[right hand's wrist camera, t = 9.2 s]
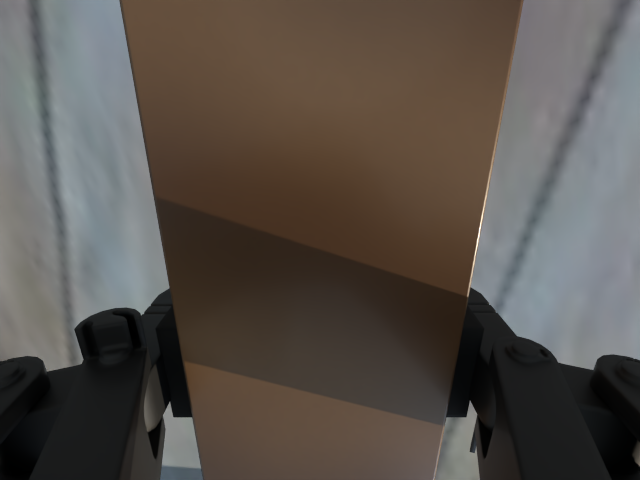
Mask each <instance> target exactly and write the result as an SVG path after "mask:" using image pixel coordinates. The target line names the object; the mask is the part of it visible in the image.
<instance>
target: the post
mask: <svg viewBox="0 0 640 480" xmlns="http://www.w3.org/2000/svg"><path fill="white" fill-rule="evenodd" d="M522 5H523V0H120V6H121V12H122V17H123V23H124V29H125V35H126V40H127V46H128V52H129V57H130V63H131V69H132V75H133V80H134V86H135V92H136V98H137V103H138V109H139V115H140V120H141V126H142V132H143V138H144V143H145V149H146V155H147V160H148V166H149V172H150V178H151V183H152V189H153V195H154V201H155V206H156V212H157V218H158V223H159V229H160V235H161V241H162V246H163V252H164V258H165V264H166V269H167V275H168V281H169V286H170V292H171V298H172V304H173V309H174V315H175V321H176V326H177V332H178V338H179V344H180V349H181V355H182V361H183V367H184V372H185V378H186V384H187V389H188V395H189V401H190V407H191V412H192V418H193V424H194V429H195V435H196V441H197V447H198V452H199V458H200V464H201V470H202V475H203V480H435V475H436V470H437V464H438V459H439V454H440V448H441V443H442V437H443V432H444V427H445V421H446V416H447V410H448V405H449V400H450V394H451V389H452V383H453V378H454V373H455V367H456V362H457V356H458V351H459V346H460V340H461V335H462V329H463V324H464V319H465V313H466V308H467V302H468V297H469V292H470V286H471V281H472V275H473V270H474V265H475V259H476V254H477V248H478V243H479V238H480V232H481V227H482V221H483V216H484V211H485V205H486V200H487V194H488V189H489V184H490V178H491V173H492V167H493V162H494V157H495V151H496V146H497V140H498V135H499V130H500V124H501V119H502V113H503V108H504V103H505V97H506V92H507V86H508V81H509V76H510V70H511V65H512V59H513V54H514V48H515V43H516V38H517V32H518V27H519V21H520V16H521V11H522Z"/></svg>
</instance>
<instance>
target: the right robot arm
mask: <svg viewBox="0 0 640 480" xmlns="http://www.w3.org/2000/svg"><path fill="white" fill-rule="evenodd" d="M74 330H75V333H76V336H77V339H78V343H79V346H80V349H81V353H82V356H83V359H84V360H83V362H82V364H81V365H77V366H73V367H68V368H63V369H58V370H53V371H48V372H47V371H46V368H45V365H44V363H43V361H42V360H41V359H39V358H38V357H31V356H25V357H18V358H12V359H8V360H7V361H6V360H5V361H2V362H0V480H160V475H161V466H162V457H163V447H164V438H165V424H164V419H163V414H164V412H165V410H166V408H167V406H168V404H169V402H170V403H171V408H172V413H173V417H192V412H191V407H190V401H189V395H188V389H187V384H186V378H185V372H184V367H183V361H182V355H181V349H180V344H179V338H178V332H177V326H176V321H175V315H174V309H173V304H172V298H171V292H170V288H169V289H168V290H166V291H165V292H163V293H161V294H160V295H158V297H157V298H156V299H155V300H154V301H153V303H152V304H151V306H149V307H148V309H147V310H146V311H145V312H144V314H143V315H142V316H141V314H140V313H139V312H138V311H137V310H135V309H131V308H114V309H110V310H105V311H102V312H99V313H97V314H94V315H92V316H90V317H88V318H87V319H85V320H83V321H82V322H80V323H79V325H78V326H77V327H76V328H75V329H74ZM470 401H471V403H472V405H473V407H474V409H475V411H476V412H477V414H478V415H477V419H476V424H475V428H474V433H473V437H472V442H471V447H470V452H473V453H475V449H476V446H477V456H478V465H479V474H480V480H640V360H637V359H633V358H631V357H627V356H619V355H603V356H602V357H600V358H599V359H597V362H596V365H595V367H594V370H590V369H585V368H580V367H575V366H570V365H565V364H561V363H558V362H557V359H556V358H555V357H554V355H553V354H552V353H551V352H550V351H549V350H548V349H546V348H545V347H543V346H542V345H540V344H538V343H536V342H534V341H532V340H529V339H526V338H522V337H518V336H516V335H515V333H514V332H513V331H512V330H511V329H510V327H509V326H508V325H507V324H506V323H505V321H504V320H503V319H502V318H501V317H500V316H499V314H498V313H496V311H495V310H494V308H493V307H492V306H491V305H489V303H488V301H487V300H486V299H485V298H484V297H483V295H482V294H481V293H479V292H477V291H476V290H474V289H472V288H471V287H470V292H469V297H468V302H467V308H466V313H465V319H464V324H463V329H462V335H461V340H460V346H459V351H458V356H457V362H456V367H455V373H454V378H453V383H452V389H451V394H450V400H449V405H448V410H447V416H446V417H466V416H467V411H468V406H469V402H470Z"/></svg>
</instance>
